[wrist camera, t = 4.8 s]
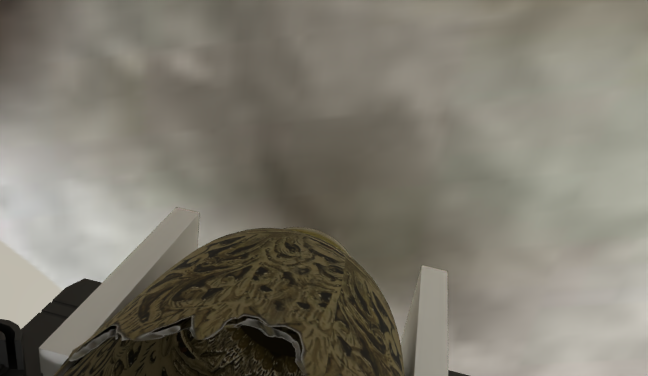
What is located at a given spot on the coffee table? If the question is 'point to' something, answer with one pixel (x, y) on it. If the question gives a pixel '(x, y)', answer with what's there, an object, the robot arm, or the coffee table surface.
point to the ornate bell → (251, 315)
